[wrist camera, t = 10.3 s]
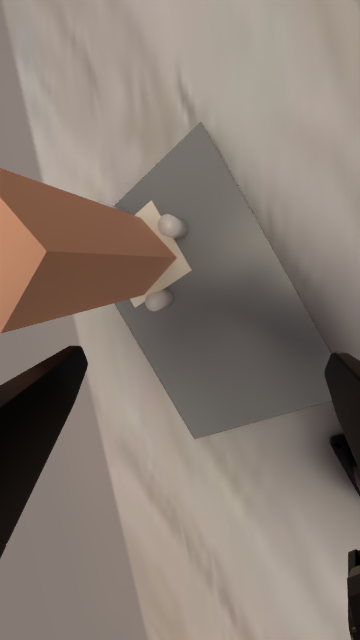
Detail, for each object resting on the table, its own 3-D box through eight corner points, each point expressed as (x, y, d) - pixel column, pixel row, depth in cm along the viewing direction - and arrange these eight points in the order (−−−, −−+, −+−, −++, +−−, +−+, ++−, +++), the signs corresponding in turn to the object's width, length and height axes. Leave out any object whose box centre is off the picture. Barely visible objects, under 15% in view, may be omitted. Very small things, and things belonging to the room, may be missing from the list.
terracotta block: (177, 257, 18) (46, 251, 7) (144, 294, 20) (0, 333, 9) (140, 217, 19) (-36, 155, 8) (111, 258, 21) (-65, 253, 10)
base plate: (348, 386, 17) (368, 416, 14) (197, 430, 23) (185, 459, 20) (205, 130, 17) (189, 97, 13) (87, 242, 23) (55, 238, 19)
